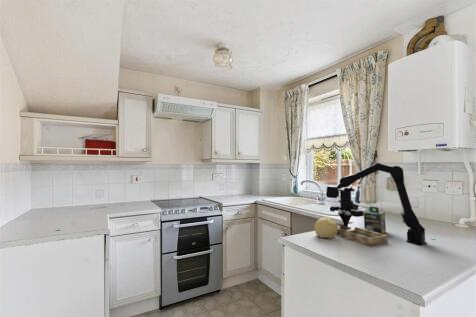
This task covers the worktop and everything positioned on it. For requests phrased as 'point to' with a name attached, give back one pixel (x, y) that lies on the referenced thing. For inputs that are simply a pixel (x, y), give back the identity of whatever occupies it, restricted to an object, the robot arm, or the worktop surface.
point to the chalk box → (375, 221)
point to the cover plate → (343, 227)
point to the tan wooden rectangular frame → (364, 236)
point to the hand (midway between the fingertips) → (346, 226)
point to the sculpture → (326, 228)
